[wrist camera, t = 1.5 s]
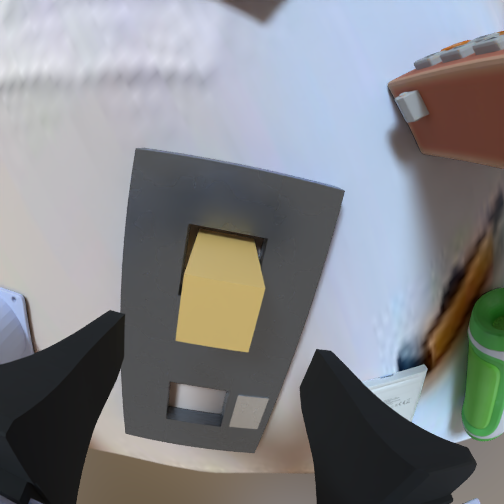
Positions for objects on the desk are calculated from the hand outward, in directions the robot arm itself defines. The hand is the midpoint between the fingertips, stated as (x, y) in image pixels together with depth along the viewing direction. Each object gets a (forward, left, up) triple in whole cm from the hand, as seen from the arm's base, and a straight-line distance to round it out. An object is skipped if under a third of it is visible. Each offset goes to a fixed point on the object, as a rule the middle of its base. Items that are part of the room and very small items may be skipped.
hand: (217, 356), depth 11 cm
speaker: (+28, -6, -10) cm, 30 cm away
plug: (0, 0, -10) cm, 10 cm away
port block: (0, -6, -10) cm, 11 cm away
